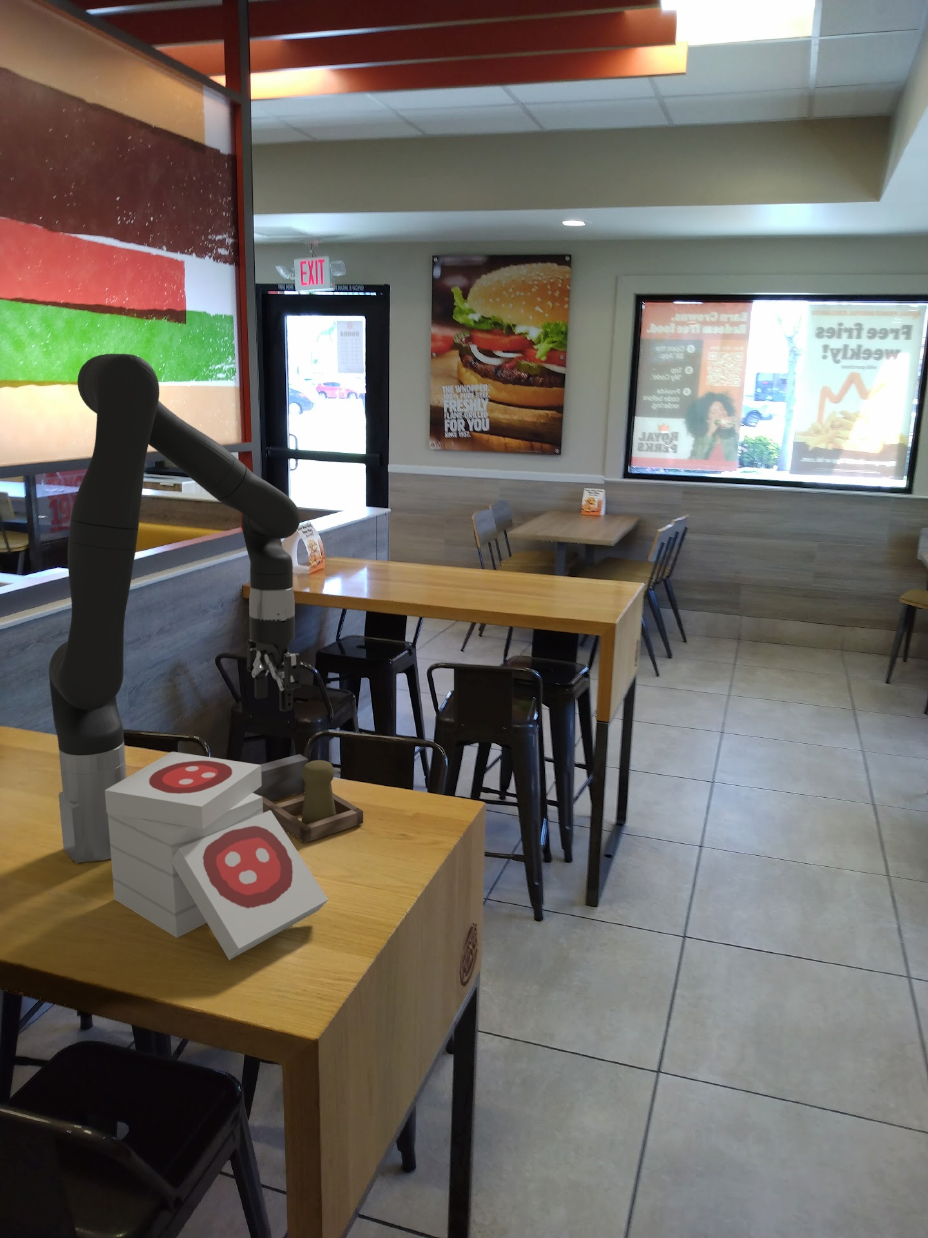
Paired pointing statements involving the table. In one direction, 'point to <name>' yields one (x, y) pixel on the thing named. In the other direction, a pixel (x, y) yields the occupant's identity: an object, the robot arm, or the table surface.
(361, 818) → the divided wooden tray frame
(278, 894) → the pizza boxes
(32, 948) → the table surface
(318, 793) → the cork
